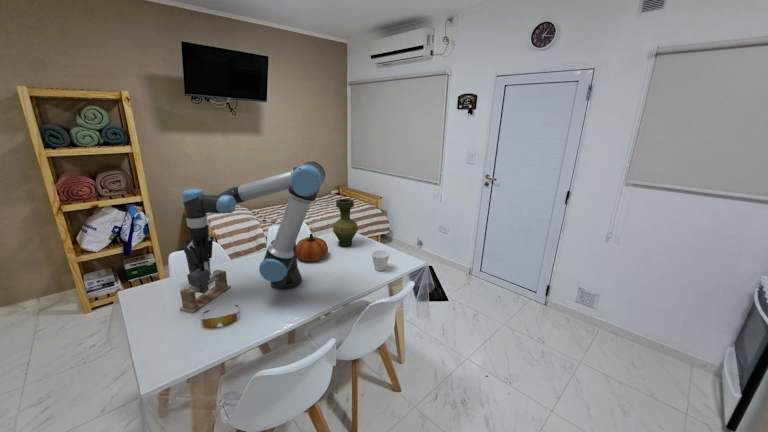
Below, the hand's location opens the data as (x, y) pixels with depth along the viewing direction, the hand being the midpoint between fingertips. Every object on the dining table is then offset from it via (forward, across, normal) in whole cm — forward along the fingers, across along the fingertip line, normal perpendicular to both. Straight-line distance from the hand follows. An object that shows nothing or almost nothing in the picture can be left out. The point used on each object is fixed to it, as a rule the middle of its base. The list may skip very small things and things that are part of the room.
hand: (205, 275), depth 139 cm
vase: (+11, -77, +36) cm, 86 cm away
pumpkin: (+11, -54, +24) cm, 60 cm away
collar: (+6, +4, 0) cm, 7 cm away
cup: (+11, -52, +67) cm, 85 cm away
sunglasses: (+12, +11, +16) cm, 23 cm away
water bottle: (+11, -9, -13) cm, 19 cm away
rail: (+11, +1, 0) cm, 11 cm away
